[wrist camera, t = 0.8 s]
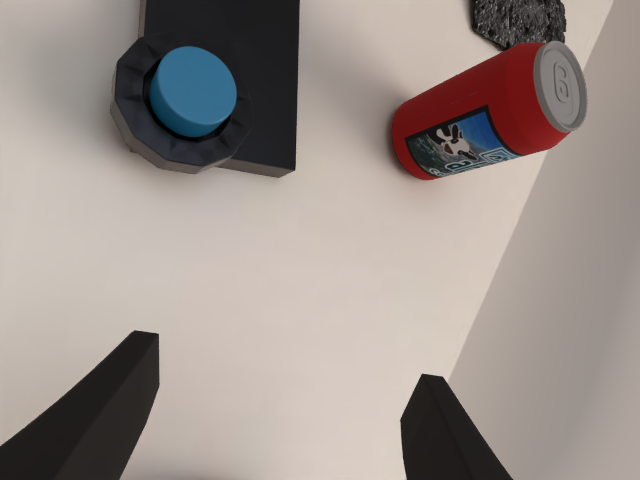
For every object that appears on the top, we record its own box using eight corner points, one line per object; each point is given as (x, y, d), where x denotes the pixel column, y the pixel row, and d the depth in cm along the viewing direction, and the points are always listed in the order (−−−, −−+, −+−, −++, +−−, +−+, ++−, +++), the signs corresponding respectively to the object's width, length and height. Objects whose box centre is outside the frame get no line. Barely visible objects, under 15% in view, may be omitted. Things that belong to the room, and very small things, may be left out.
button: (221, 144, 21) (235, 132, 19) (146, 128, 19) (154, 113, 17) (224, 77, 21) (238, 60, 20) (151, 55, 19) (160, 34, 18)
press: (278, 196, 26) (310, 185, 23) (101, 171, 21) (110, 150, 18) (285, -20, 28) (315, -60, 25) (122, -96, 23) (133, -161, 19)
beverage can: (386, 178, 32) (538, 133, 22) (382, 95, 32) (529, 12, 22) (444, 185, 35) (597, 149, 25) (440, 110, 36) (588, 45, 26)
